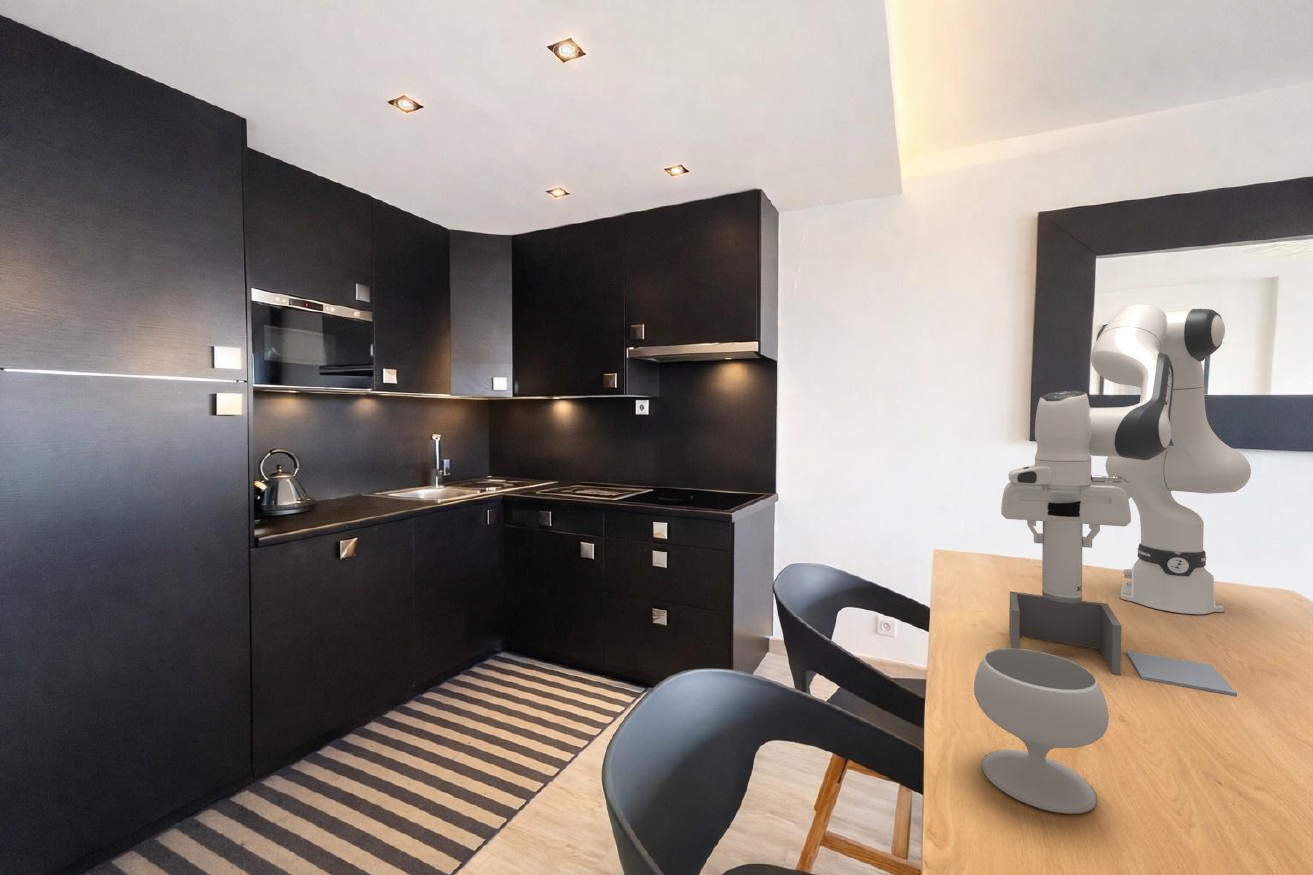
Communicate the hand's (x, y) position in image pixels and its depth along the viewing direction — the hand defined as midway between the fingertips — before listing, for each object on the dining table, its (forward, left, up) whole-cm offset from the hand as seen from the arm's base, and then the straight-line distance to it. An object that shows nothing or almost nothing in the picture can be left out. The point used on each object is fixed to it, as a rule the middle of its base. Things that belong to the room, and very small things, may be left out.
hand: (1062, 544), depth 106 cm
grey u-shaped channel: (0, 0, -22) cm, 22 cm away
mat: (0, +17, -22) cm, 27 cm away
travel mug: (0, 0, -11) cm, 11 cm away
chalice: (+48, -7, -22) cm, 53 cm away
